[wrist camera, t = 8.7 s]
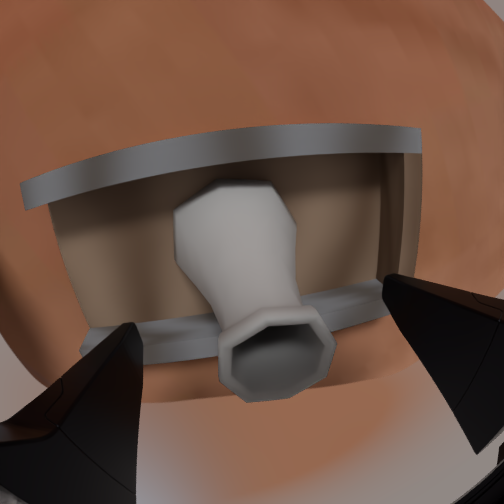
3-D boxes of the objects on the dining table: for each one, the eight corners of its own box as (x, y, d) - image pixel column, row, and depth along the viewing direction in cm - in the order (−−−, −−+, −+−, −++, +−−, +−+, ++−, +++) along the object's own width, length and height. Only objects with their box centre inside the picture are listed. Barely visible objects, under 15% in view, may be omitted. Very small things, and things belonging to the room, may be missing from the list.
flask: (305, 274, 17) (390, 390, 8) (195, 308, 17) (199, 452, 8) (281, 160, 15) (399, 188, 5) (153, 198, 14) (78, 285, 5)
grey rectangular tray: (101, 336, 18) (88, 367, 15) (50, 174, 13) (19, 183, 10) (382, 286, 20) (407, 308, 17) (387, 128, 16) (420, 128, 13)
